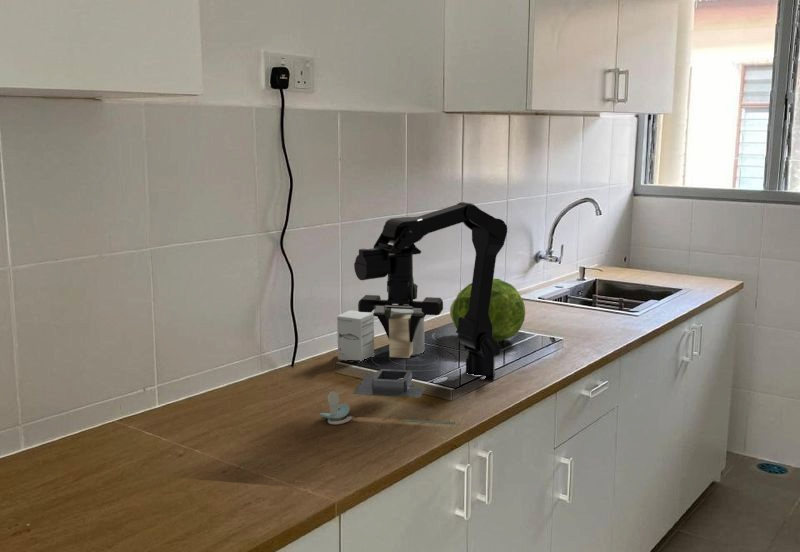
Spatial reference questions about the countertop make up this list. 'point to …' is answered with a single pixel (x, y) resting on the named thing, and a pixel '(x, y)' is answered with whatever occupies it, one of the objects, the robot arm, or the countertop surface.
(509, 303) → the lettuce
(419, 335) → the white stone cylinder
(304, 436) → the countertop surface
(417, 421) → the pad
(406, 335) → the maple block
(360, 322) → the supplement box
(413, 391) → the pocket fixture
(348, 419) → the pacifier
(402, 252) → the robot arm
